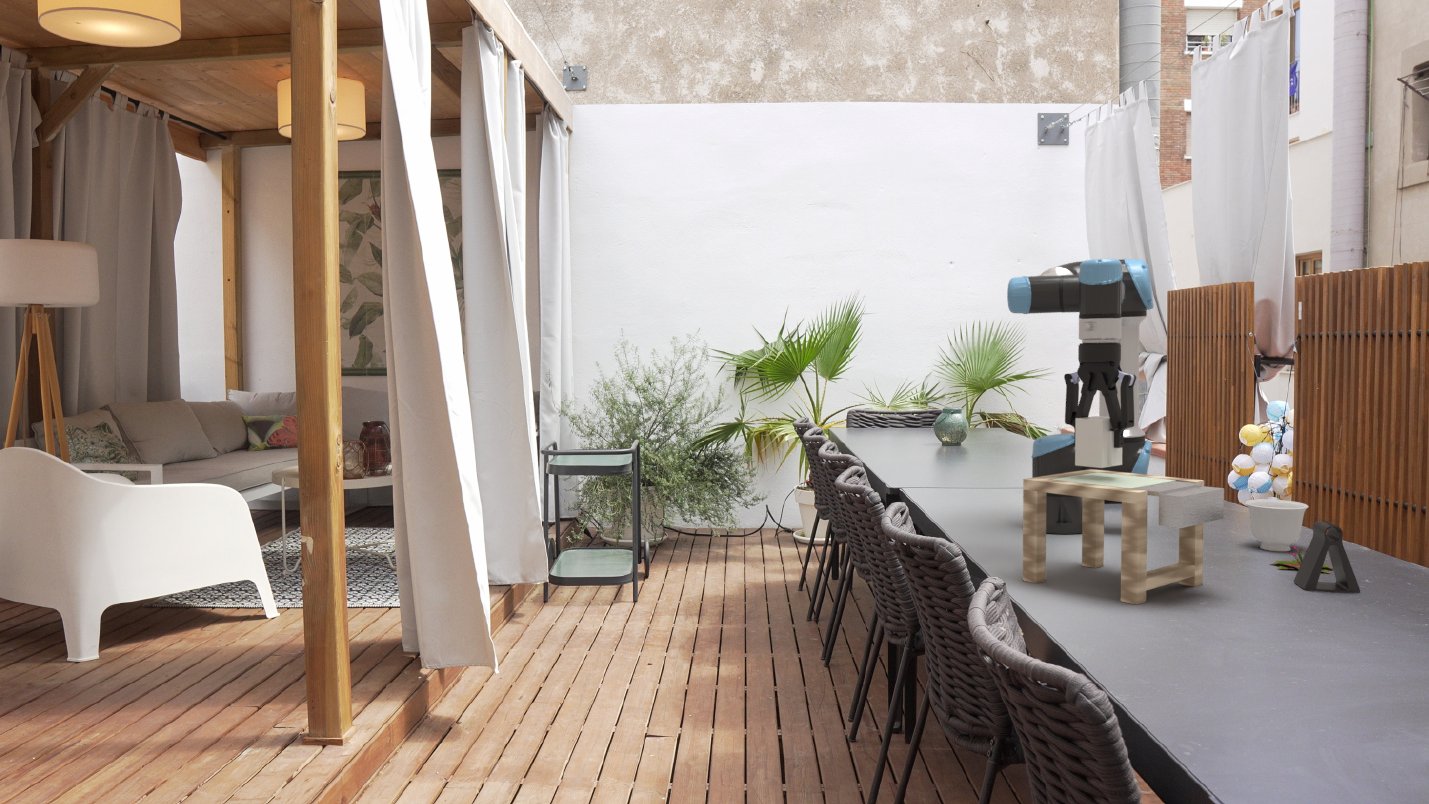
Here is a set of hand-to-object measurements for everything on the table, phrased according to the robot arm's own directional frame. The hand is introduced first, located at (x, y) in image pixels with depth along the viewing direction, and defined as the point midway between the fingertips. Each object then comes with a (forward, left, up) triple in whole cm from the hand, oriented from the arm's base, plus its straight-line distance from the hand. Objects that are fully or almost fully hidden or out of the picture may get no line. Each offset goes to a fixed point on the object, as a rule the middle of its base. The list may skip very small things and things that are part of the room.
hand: (1098, 463), depth 185 cm
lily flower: (+20, +40, -23) cm, 51 cm away
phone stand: (+30, +26, -23) cm, 46 cm away
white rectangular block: (0, 0, 0) cm, 0 cm away
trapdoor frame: (+3, 0, -22) cm, 23 cm away
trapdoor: (+8, 0, -9) cm, 12 cm away
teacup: (+8, +56, -23) cm, 61 cm away
